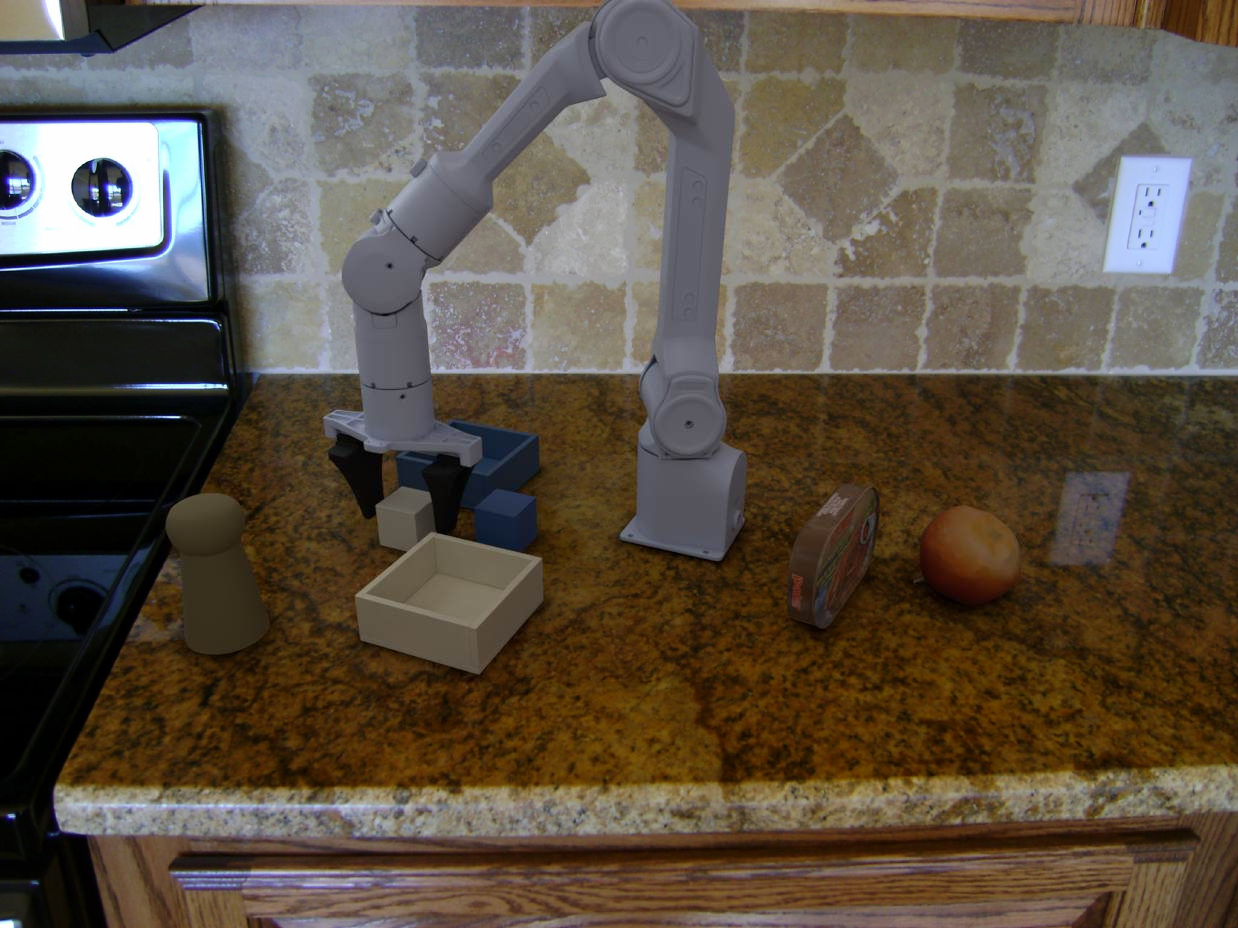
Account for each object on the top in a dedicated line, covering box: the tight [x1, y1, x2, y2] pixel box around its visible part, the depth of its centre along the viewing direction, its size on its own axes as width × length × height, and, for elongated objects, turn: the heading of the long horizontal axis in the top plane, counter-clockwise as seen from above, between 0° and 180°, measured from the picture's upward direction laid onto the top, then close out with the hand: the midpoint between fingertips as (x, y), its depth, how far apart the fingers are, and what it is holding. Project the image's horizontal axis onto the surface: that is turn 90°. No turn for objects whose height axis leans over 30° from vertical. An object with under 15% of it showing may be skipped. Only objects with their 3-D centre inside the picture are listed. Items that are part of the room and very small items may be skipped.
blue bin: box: [395, 418, 541, 511], centre depth 93 cm, size 10×10×4 cm
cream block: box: [376, 486, 436, 553], centre depth 82 cm, size 4×4×4 cm
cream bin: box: [354, 532, 545, 676], centre depth 71 cm, size 10×10×4 cm
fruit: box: [913, 504, 1022, 607], centre depth 76 cm, size 8×8×8 cm
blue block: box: [473, 489, 538, 553], centre depth 82 cm, size 4×4×4 cm
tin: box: [786, 482, 881, 630], centre depth 74 cm, size 15×3×8 cm, turn 148°
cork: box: [165, 492, 271, 656], centre depth 68 cm, size 6×6×11 cm
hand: (409, 522), depth 82 cm, fingers open, 7 cm apart
